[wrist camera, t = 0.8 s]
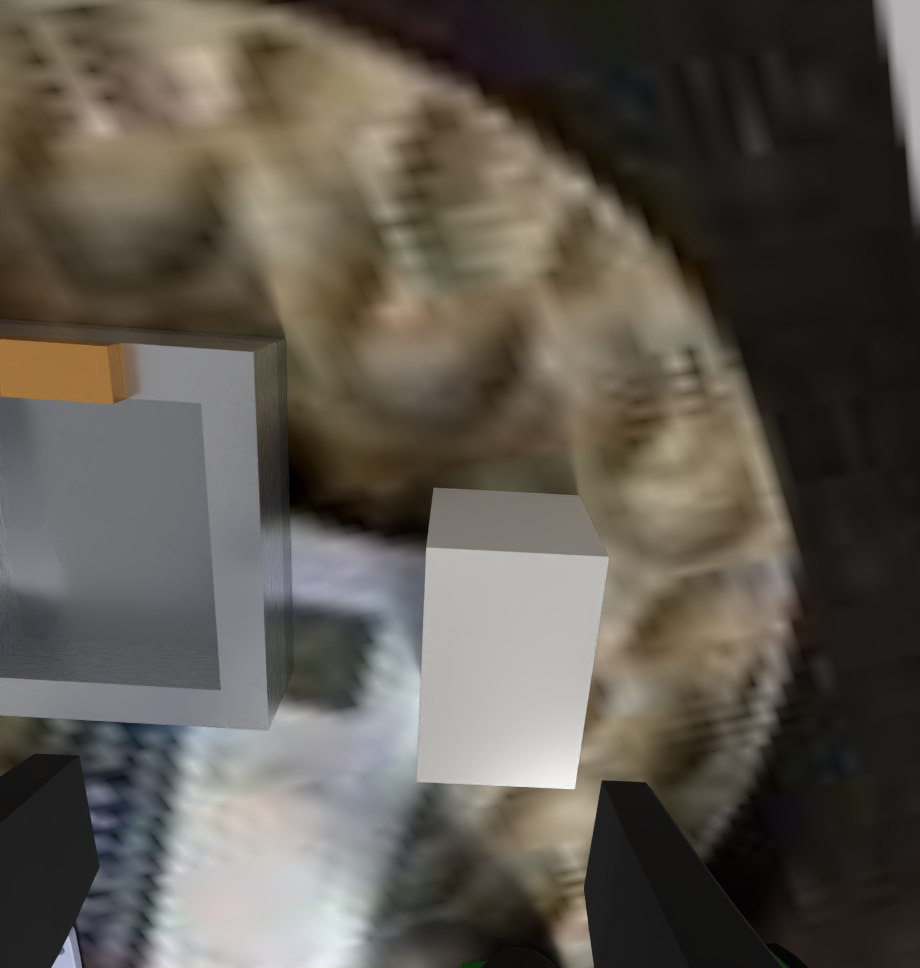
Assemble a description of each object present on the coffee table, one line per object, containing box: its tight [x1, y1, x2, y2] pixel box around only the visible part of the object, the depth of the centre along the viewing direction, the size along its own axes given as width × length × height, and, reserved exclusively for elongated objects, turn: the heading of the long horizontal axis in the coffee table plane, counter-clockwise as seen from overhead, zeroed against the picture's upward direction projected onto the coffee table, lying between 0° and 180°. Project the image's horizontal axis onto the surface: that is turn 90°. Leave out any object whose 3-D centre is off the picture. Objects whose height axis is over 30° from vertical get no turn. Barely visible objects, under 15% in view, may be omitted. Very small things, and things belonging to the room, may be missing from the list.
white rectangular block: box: [416, 488, 609, 789], centre depth 17 cm, size 6×4×4 cm, turn 177°
